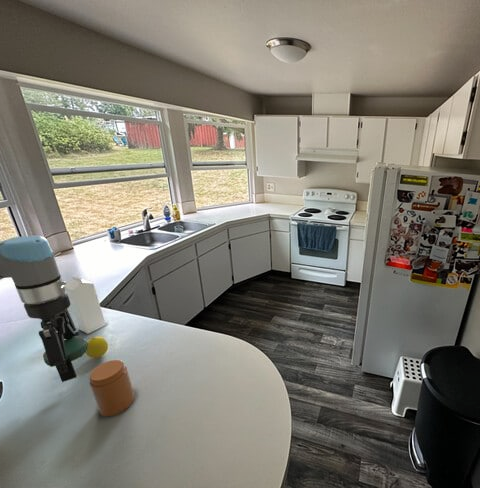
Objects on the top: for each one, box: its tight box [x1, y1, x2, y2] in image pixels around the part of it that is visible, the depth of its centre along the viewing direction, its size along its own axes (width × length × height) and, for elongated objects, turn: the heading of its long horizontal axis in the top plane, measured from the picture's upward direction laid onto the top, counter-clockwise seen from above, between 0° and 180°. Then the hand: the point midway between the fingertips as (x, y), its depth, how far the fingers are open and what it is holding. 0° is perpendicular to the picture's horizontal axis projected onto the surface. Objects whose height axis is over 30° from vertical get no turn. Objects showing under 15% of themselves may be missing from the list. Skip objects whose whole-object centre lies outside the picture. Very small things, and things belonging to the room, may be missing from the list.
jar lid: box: [42, 336, 88, 367], centre depth 68 cm, size 8×8×2 cm
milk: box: [64, 275, 107, 335], centre depth 95 cm, size 6×6×22 cm
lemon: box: [85, 336, 109, 359], centre depth 83 cm, size 6×6×8 cm
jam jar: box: [88, 359, 136, 417], centre depth 67 cm, size 8×8×12 cm
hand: (72, 367), depth 70 cm, fingers closed on jar lid, 8 cm apart
